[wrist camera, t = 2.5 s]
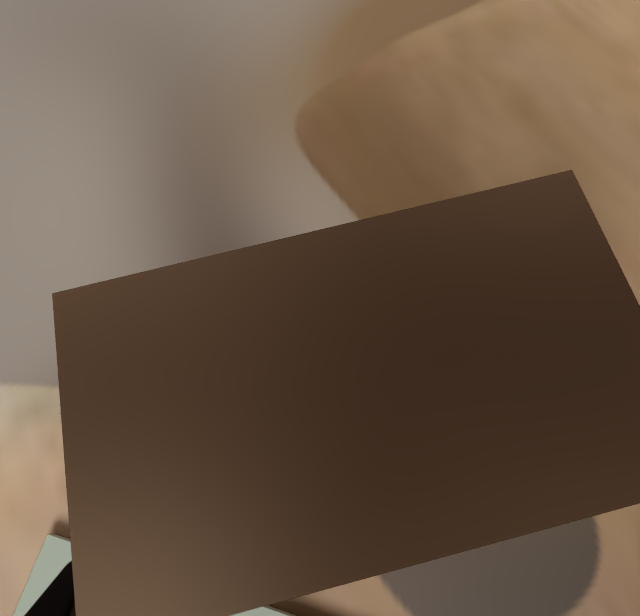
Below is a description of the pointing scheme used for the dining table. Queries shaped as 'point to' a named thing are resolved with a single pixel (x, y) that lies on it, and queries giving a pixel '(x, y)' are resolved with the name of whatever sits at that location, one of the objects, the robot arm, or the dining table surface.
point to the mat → (58, 556)
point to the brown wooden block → (346, 402)
